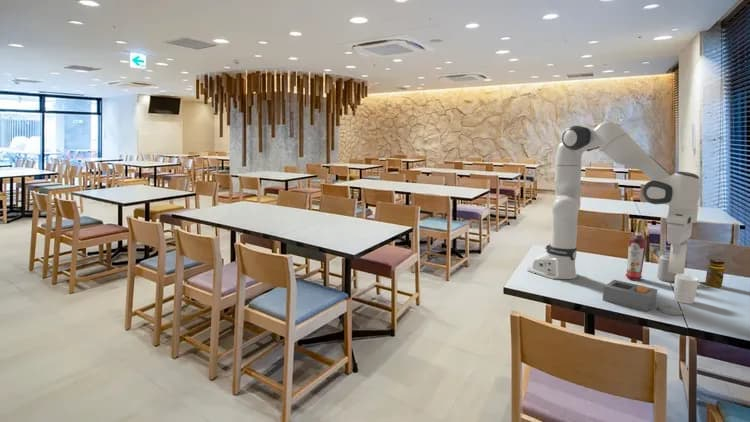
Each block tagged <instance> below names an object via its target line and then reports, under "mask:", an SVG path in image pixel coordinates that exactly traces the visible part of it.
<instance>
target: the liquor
mask: <svg viewBox="0 0 750 422" xmlns="http://www.w3.org/2000/svg"><path fill="white" fill-rule="evenodd" d="M644 222H645V221H644V220H641V219H636V227H635V228H636V230H635V232H634V233H635V234H634V236H631V237H630V238H628V246H627V247H628V249H627V267H626V273H625V276H626V278H627V279H628V280H631V281H640V280H641V279H642V278H643V276H642V273H643V266H644V260H645V255H646V249H647V244H648V240H647V239H646V238H644V237H643V226H644Z"/></svg>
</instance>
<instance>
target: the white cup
mask: <svg viewBox="0 0 750 422" xmlns="http://www.w3.org/2000/svg"><path fill="white" fill-rule="evenodd" d="M698 281H699V278H698V277H695V276H693V275H687V274H677V275H675V281H674V286H673V287H674V288H673V300H674V301H676V302H678V303H681V304H687V305H690V304H694V301H695V298H696V294H697V289H698V285H699V283H698ZM699 282H700V281H699Z"/></svg>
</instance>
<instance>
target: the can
mask: <svg viewBox="0 0 750 422" xmlns="http://www.w3.org/2000/svg"><path fill="white" fill-rule="evenodd" d="M669 257H670V253H661V255H660V256H659V257H658V258H659V259H658V266H657V272H656V273H657V275H656V278H658V279H659V280H660V281H662V282H667V283H671V282H675V275H678V274H675V273H670V272H668V266H669Z"/></svg>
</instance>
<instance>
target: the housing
mask: <svg viewBox="0 0 750 422" xmlns="http://www.w3.org/2000/svg"><path fill="white" fill-rule="evenodd" d="M638 285H639V284H634V283H631V282H626V281H622V280H617V279H613V280H611V281H610V282H609V283H606V284H605V285H604V286H603V293H602V301H604V302H608V303H613V304H616V305H620V306H624V307H628V308H632V309H636V310H639V311H643V312H648V311H649V310H650V309H652V308H653V307H654V306H655V305H656V304H657V296H658V289H657V288H652V287H649V286H647V287H648V290H647V293H644V292H639V291H636V287H637V286H638Z"/></svg>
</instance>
